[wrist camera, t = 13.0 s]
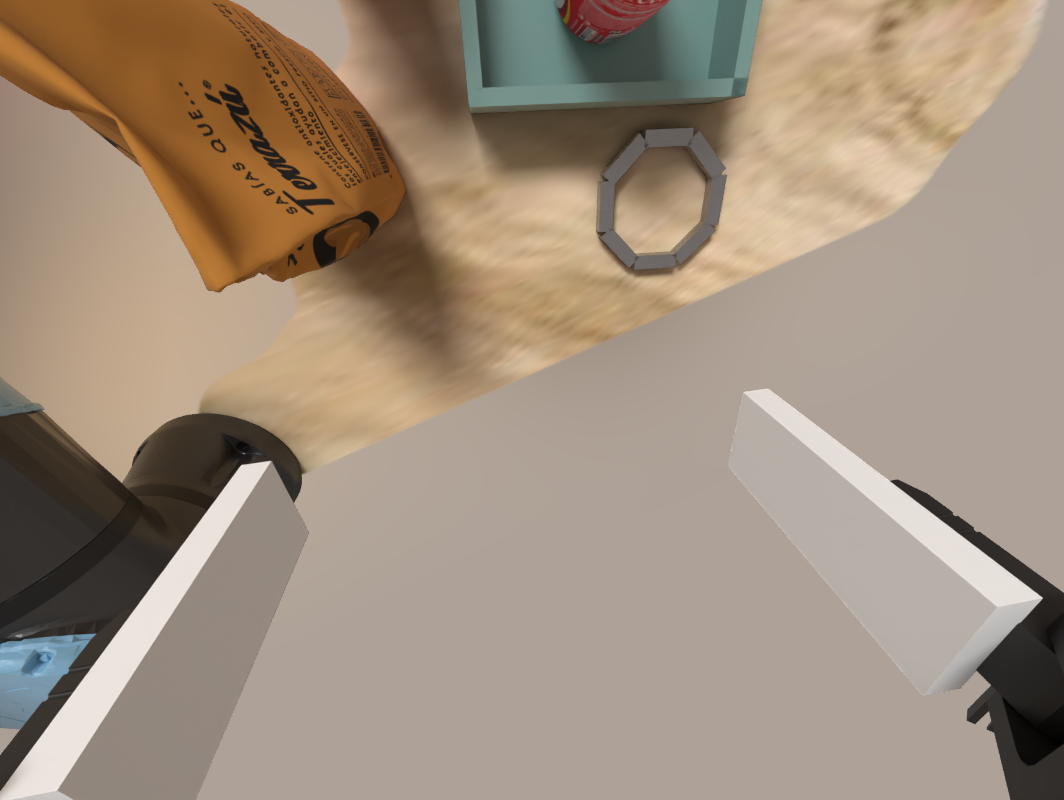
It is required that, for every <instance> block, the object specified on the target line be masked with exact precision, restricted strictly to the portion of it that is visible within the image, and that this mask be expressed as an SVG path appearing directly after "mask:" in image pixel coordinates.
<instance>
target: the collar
mask: <svg viewBox="0 0 1064 800" xmlns="http://www.w3.org/2000/svg"><path fill="white" fill-rule="evenodd" d="M693 131H694V128H675V129H654V130H642V134H640V133H638V134H635V135H634V136H633V137H632V139H631V140H630V141H629V142H628V143H627V144H626V145H625V147H624V148H623V149H622V150H621V151H620V152H619V154H618V155H617V156H616V157H615V158H614V159H613V161H612V162H611V163H610V164H609V165H608V166H607V168H606V169H605V170H604V171H603V172H602V173H601V175H602V177H603V178H604V179H605V180H606V181H598V194H597V222H596V231H598V232H601V234H600V235H599V238H600V239H601V240H602V241H603V242H604V243H605V244H606V245H607V246H608V247H609V248H610V249H611V250H612V251H613V252H614V253H615V254H616V256H617V257H618V258H619V259H620V260H621V261H622V262H623V263H624V264H625V265H626V266H627V267H629V268H630V267H631V268H632V269H634V270H639V269H653V268H668V267H675V265H676V262H677V263H679V264H681V263H683V262H684V261H685V260H686V259H687V258H688V257H689V256H690V255H691V254H692V253H693V252H694V251H695V250H696V249H697V248H698V247H699V246H700V245H701V244H702V243H703V242H704V241H705V240H706V239H707V238H708V237H709V236H710V235H711V234H712V233H713V232H714V231H715V230H714V229H713V228H712V226H711V225H718V223H719V217H720V211H721V206H722V200H723V194H724V189H725V183H726V178H727V175H722V174H721V173H722V172H723V171H724V170H725V169H726V168H725V166H724V165H723V164H722V162H721V161H720V159H719V158H718V156H717V155H716V153H715V152H714V151H713V149H712V148H711V146H710V145H709V143H708V142H707V141H706V139H705V138H704V136H703V135H702V133H701V132H700V130H699V131H694V132H693ZM670 146H684V147H685V148H686V149H687V151H688V152H689V154H690V155H691V156H692V158H693V159H694V160H695V162H696V163H697V165H698V166H699V167H700V169H701V170H702V171H703V173H704V174H705V176H706V177H707V183H706V189H705V195H704V202H703V208H702V214H701V221H700V222H699V223H698V224H697V225H696V226H695V227H694V228H693V229H692V230H691V231H690V232H689V233H688V234H687V235H686V236H685V237H684V238H683V239H682V240H681V241H680V242H679V243H678V244H677V245H676V246H675V247H674V248H673V249H672V250H671V251H670V252H655V253H640V254H635V253H634V252H633V251H632V250H631V249H630V247H629V246H628V245H627V244H626V243H625V242H624V241H623V240H622V239H621V238H620V236H619V235H618V234H617V233H616V232H615V231H614V230H613V211H614V193H615V183H616V182H617V181H618V180H619V179H620V178H621V177H622V175H623V174H624V173H625V172H626V171H627V170H628V169H629V167H630V166H631V165H632V164H633V163H634V162H635V161H636V160H637V158H638V157H639V156H640V155H641V154H642V153H643V152H644V150H645V149H646V148H650V147H670Z"/></svg>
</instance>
